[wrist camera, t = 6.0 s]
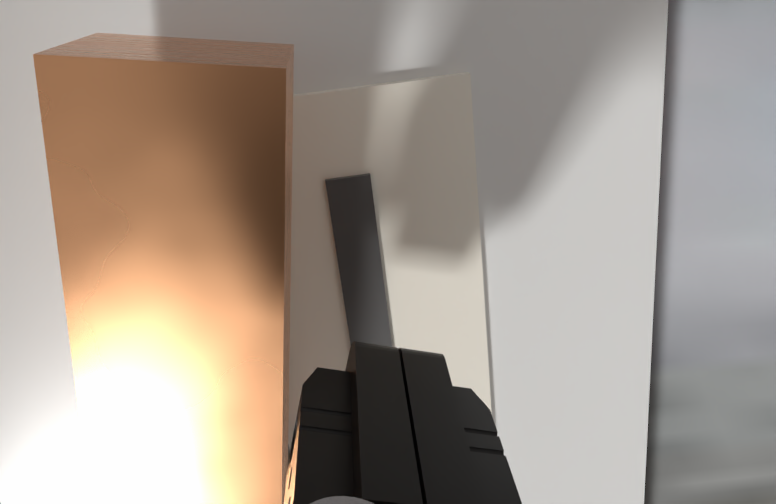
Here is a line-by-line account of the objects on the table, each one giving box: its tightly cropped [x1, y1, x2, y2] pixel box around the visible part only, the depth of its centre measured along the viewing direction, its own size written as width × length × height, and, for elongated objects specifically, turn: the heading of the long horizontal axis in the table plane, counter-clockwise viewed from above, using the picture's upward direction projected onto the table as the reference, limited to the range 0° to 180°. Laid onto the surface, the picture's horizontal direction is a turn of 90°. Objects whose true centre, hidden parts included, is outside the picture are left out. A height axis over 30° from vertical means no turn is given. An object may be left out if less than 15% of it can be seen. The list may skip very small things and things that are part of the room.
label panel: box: [0, 0, 668, 504], centre depth 15 cm, size 22×14×2 cm, turn 6°
